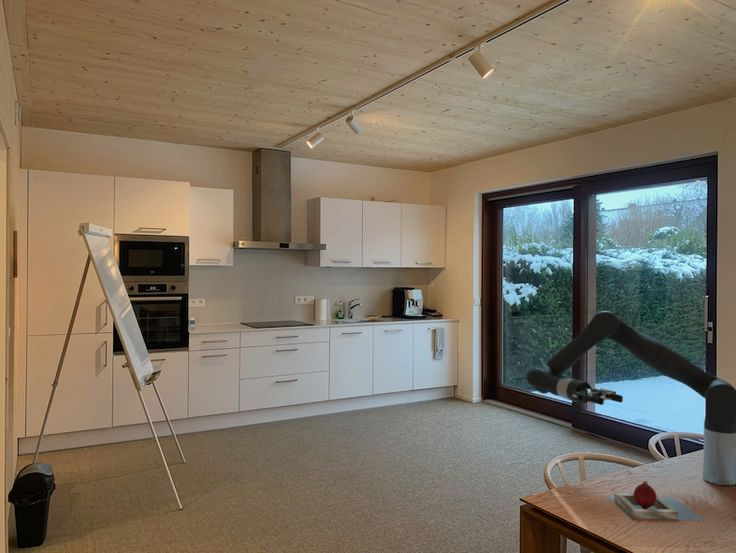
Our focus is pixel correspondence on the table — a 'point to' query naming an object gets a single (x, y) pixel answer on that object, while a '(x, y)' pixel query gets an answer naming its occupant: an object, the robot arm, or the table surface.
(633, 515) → the square frame
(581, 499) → the table surface
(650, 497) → the onion
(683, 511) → the build board
